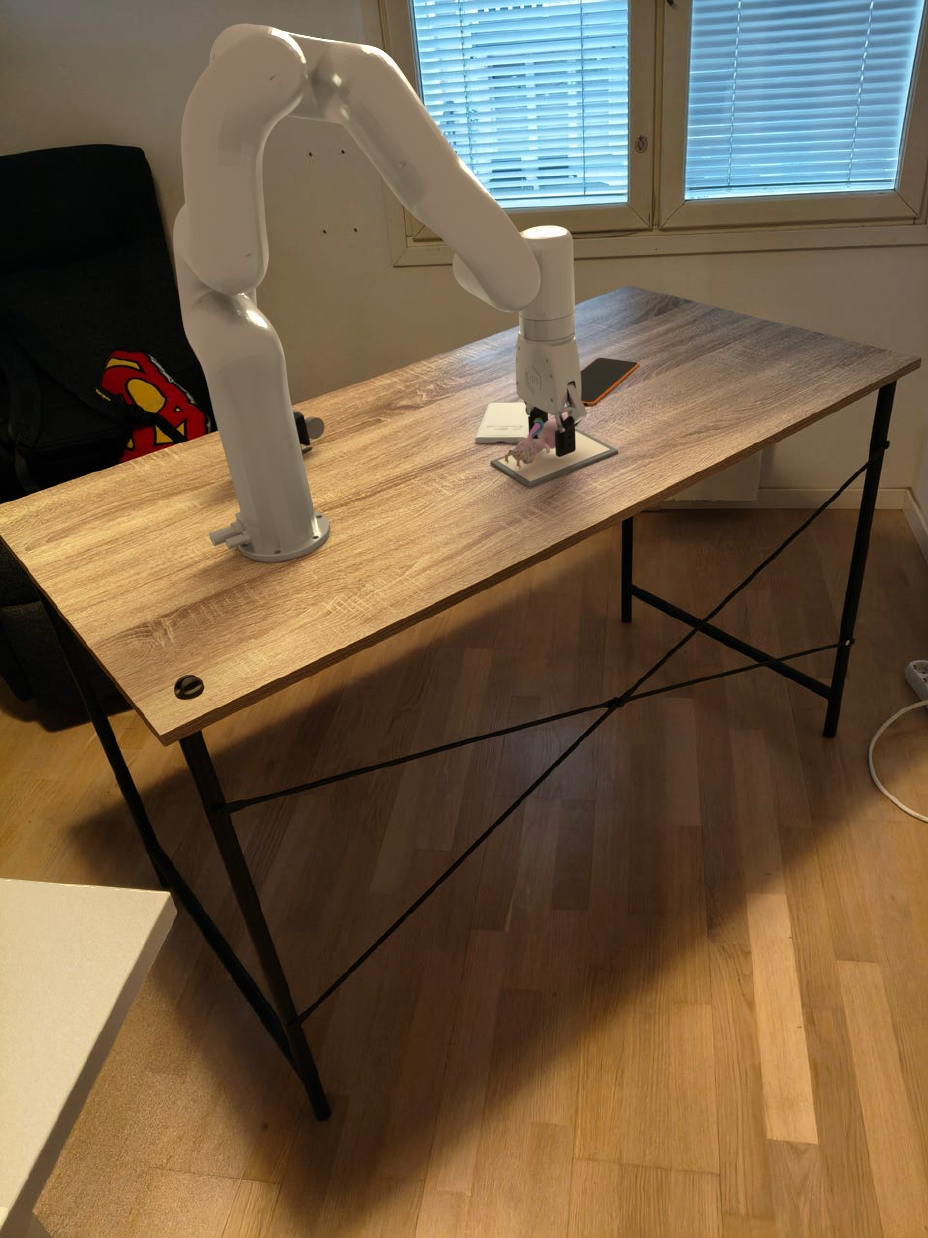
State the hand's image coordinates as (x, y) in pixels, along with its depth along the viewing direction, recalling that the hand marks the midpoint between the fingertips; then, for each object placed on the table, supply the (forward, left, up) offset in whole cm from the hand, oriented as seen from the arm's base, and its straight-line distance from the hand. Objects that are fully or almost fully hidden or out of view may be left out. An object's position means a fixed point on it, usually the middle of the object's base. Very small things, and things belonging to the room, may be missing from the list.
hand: (552, 444), depth 140 cm
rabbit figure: (-1, 0, -1) cm, 1 cm away
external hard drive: (+2, +14, -3) cm, 15 cm away
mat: (0, 0, -2) cm, 2 cm away
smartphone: (+22, +18, -3) cm, 29 cm away
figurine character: (-32, +29, -3) cm, 43 cm away
